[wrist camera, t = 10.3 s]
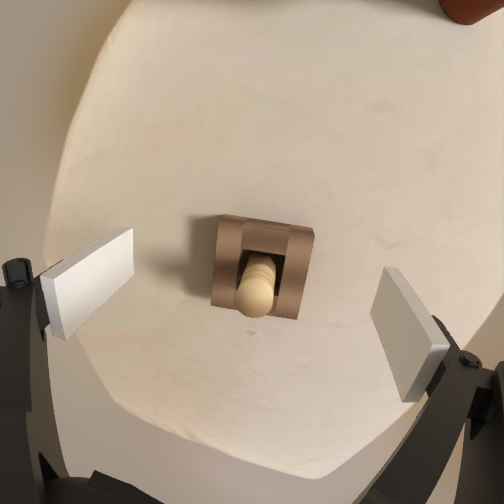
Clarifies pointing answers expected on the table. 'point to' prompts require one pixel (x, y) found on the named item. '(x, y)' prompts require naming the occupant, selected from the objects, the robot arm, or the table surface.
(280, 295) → the walnut socket
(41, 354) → the robot arm
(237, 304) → the oak peg
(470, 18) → the bottle
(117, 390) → the table surface
